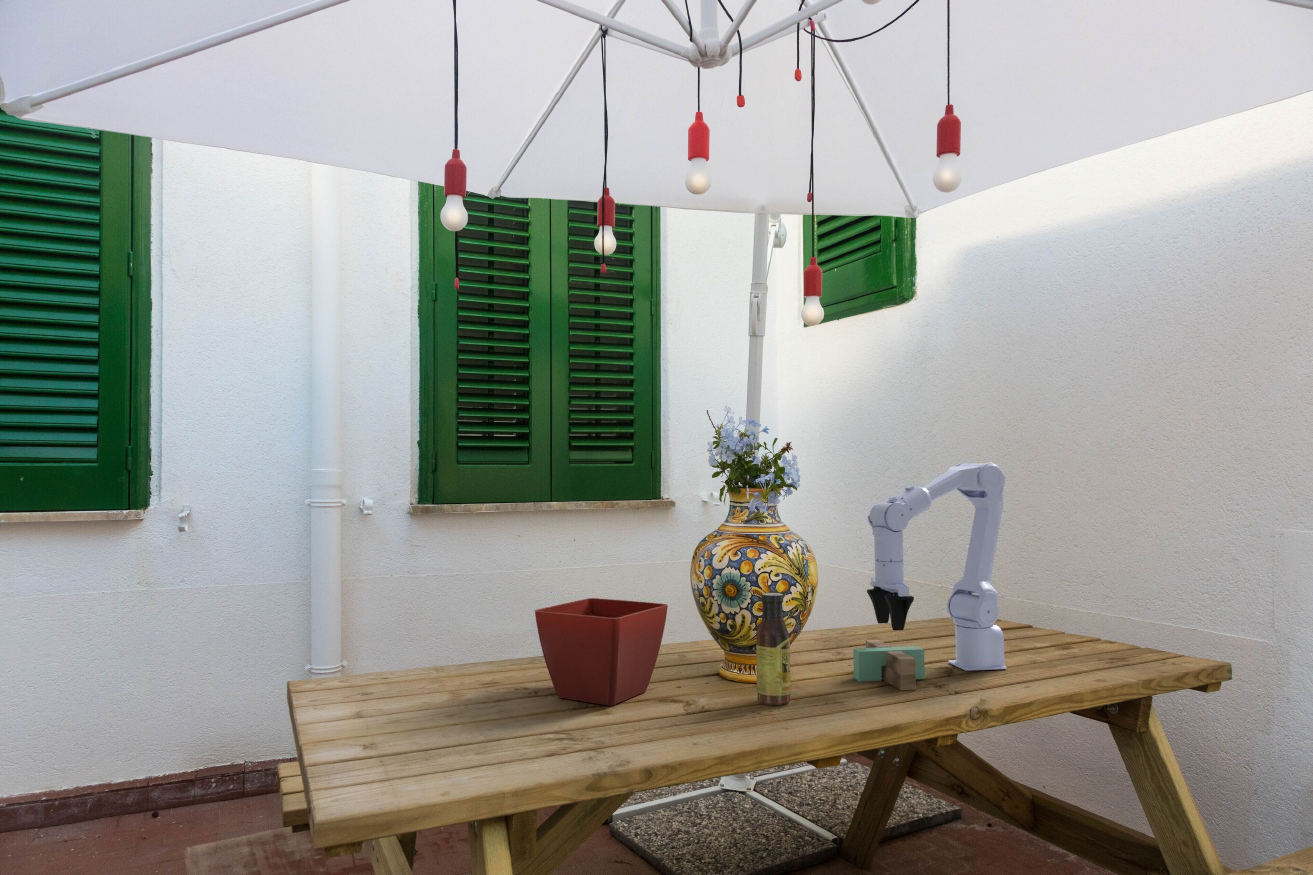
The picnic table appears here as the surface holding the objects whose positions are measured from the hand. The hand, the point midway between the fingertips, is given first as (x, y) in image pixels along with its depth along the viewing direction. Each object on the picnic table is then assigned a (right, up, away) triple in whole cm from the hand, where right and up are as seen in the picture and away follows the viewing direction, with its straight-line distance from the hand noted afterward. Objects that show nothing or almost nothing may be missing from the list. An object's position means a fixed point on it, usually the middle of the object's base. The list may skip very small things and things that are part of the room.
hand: (890, 626), depth 174 cm
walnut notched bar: (-1, -10, -2) cm, 10 cm away
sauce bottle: (-27, -10, -18) cm, 34 cm away
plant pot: (-59, -11, -12) cm, 61 cm away
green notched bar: (-1, -10, -2) cm, 10 cm away
